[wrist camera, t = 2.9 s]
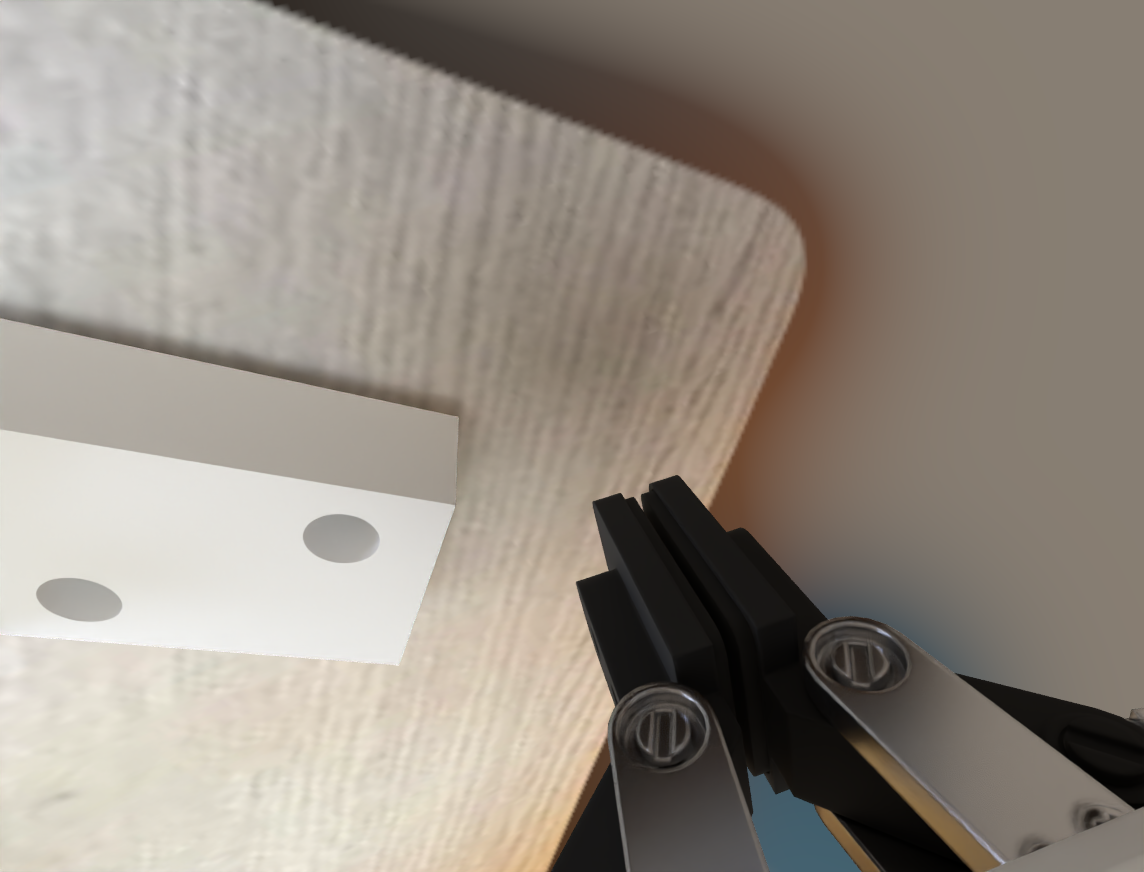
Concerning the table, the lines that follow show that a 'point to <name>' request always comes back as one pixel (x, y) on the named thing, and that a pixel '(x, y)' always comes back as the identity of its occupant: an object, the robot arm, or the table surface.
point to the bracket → (211, 504)
